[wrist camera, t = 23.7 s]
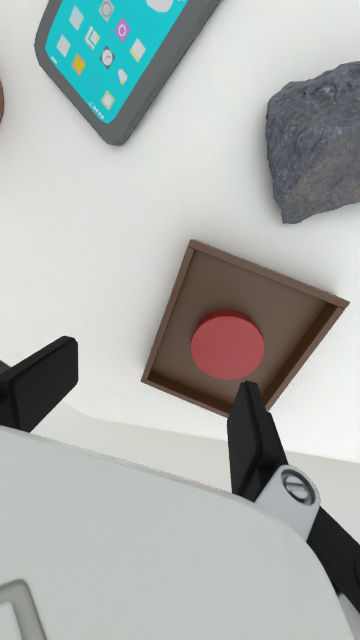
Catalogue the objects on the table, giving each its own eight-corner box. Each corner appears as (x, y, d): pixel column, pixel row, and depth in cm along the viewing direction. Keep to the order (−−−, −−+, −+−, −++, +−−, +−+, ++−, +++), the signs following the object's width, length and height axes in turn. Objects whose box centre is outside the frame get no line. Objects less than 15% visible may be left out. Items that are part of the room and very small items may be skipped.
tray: (251, 414, 23) (254, 429, 21) (146, 370, 24) (140, 381, 22) (335, 295, 17) (350, 302, 15) (193, 239, 18) (190, 239, 16)
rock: (227, 156, 16) (303, 257, 16) (223, 96, 10) (337, 249, 11) (349, 31, 13) (441, 159, 13) (432, -143, 7) (589, 79, 8)
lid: (207, 299, 19) (206, 304, 17) (274, 326, 19) (279, 333, 17) (183, 354, 21) (180, 363, 20) (241, 378, 21) (243, 389, 20)
